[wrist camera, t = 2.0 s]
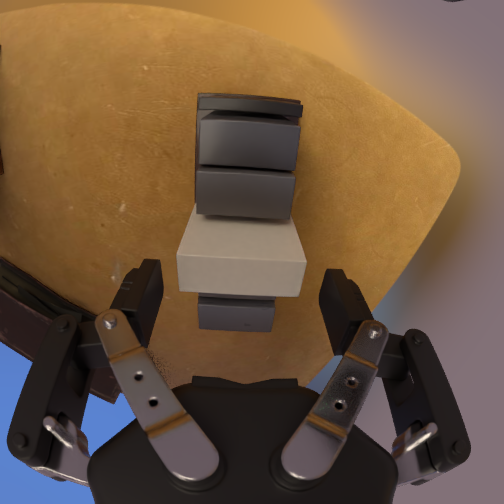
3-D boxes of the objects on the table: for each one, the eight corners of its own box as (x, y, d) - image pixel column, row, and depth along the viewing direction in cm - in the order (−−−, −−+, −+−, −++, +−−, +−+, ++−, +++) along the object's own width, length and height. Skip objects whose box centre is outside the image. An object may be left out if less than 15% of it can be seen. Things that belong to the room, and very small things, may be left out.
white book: (206, 175, 22) (176, 254, 12) (278, 179, 23) (307, 261, 13) (206, 199, 24) (179, 291, 14) (275, 203, 24) (298, 297, 14)
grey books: (199, 93, 20) (165, 94, 11) (298, 100, 20) (339, 108, 11) (197, 258, 28) (179, 339, 19) (275, 263, 29) (288, 344, 20)
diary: (119, 384, 43) (113, 407, 38) (7, 323, 35) (-4, 342, 31) (145, 333, 34) (136, 363, 30) (0, 250, 27) (-20, 271, 22)
